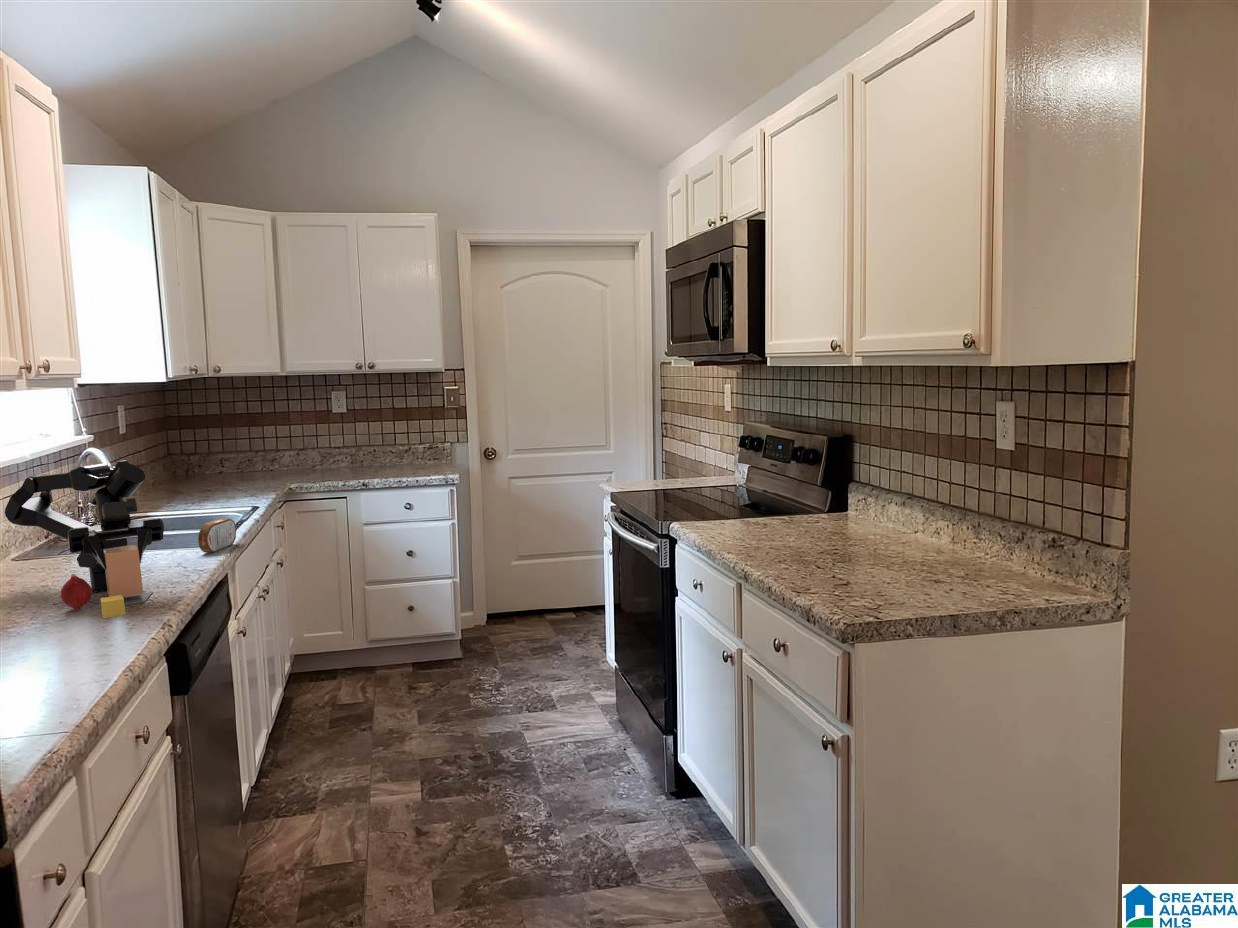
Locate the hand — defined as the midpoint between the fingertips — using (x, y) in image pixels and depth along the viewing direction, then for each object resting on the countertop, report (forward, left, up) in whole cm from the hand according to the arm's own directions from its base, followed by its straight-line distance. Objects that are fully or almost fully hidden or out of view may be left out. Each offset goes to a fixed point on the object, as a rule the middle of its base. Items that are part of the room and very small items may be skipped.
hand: (122, 565), depth 199 cm
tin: (-51, +12, -9) cm, 53 cm away
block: (+10, 0, -8) cm, 13 cm away
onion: (+3, -9, -8) cm, 13 cm away
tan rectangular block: (-1, 0, -7) cm, 7 cm away
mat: (-1, 0, -8) cm, 8 cm away
